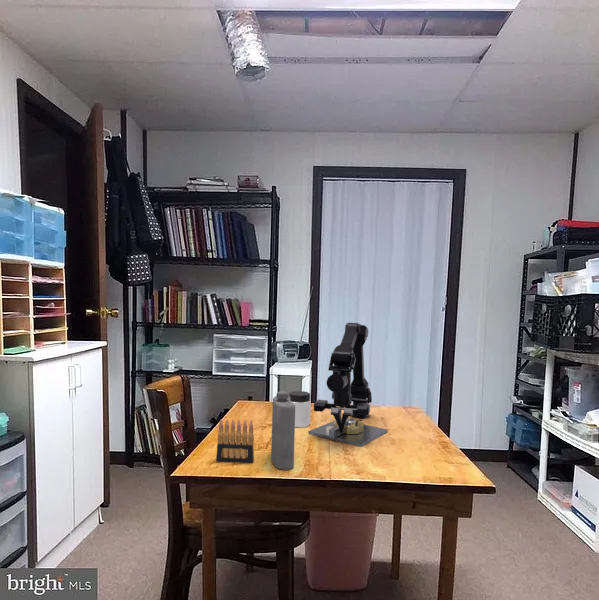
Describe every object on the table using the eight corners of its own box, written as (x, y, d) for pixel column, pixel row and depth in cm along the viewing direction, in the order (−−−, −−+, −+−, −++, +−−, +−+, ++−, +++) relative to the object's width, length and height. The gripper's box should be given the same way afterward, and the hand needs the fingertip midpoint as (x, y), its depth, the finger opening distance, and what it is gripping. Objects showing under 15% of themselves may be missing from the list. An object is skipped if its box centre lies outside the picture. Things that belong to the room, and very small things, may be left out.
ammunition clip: (215, 461, 124) (217, 419, 124) (217, 459, 126) (218, 418, 126) (252, 463, 123) (254, 421, 123) (253, 460, 125) (255, 419, 125)
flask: (269, 452, 133) (270, 387, 133) (287, 451, 134) (289, 387, 134) (274, 470, 118) (276, 398, 118) (294, 470, 119) (297, 397, 119)
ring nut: (343, 424, 162) (343, 415, 162) (367, 429, 156) (367, 420, 156) (318, 434, 148) (319, 425, 148) (344, 440, 142) (344, 430, 142)
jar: (314, 425, 163) (315, 394, 163) (297, 429, 158) (298, 396, 158) (299, 420, 170) (300, 390, 170) (283, 423, 165) (284, 392, 165)
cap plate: (338, 421, 170) (338, 410, 170) (387, 432, 157) (387, 419, 157) (308, 433, 152) (308, 421, 152) (361, 446, 140) (361, 432, 140)
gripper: (371, 384, 152) (370, 428, 152) (320, 381, 157) (319, 423, 157) (368, 390, 142) (368, 437, 142) (313, 386, 146) (312, 432, 146)
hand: (341, 432), depth 147 cm, fingers closed
